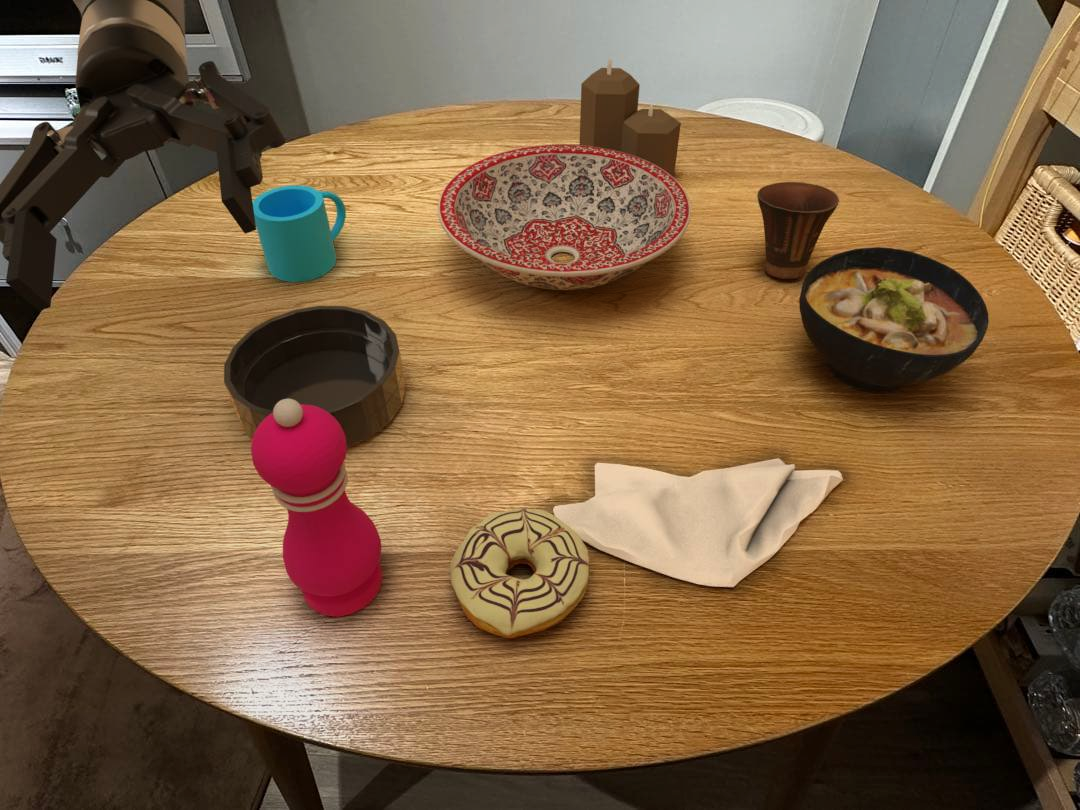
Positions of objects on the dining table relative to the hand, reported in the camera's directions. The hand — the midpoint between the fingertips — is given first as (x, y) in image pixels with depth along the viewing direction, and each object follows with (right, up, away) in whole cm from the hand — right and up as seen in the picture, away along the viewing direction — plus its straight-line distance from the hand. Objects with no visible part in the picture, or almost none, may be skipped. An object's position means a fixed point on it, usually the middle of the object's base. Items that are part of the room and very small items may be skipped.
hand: (134, 255), depth 47 cm
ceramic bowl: (+27, +9, +48) cm, 56 cm away
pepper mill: (+9, -23, +15) cm, 29 cm away
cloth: (+39, -19, +19) cm, 47 cm away
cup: (+54, +8, +47) cm, 72 cm away
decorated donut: (+23, -23, +15) cm, 36 cm away
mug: (-3, +9, +49) cm, 50 cm away
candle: (+35, +24, +64) cm, 77 cm away
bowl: (+59, -5, +34) cm, 68 cm away
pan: (+3, -8, +30) cm, 32 cm away
